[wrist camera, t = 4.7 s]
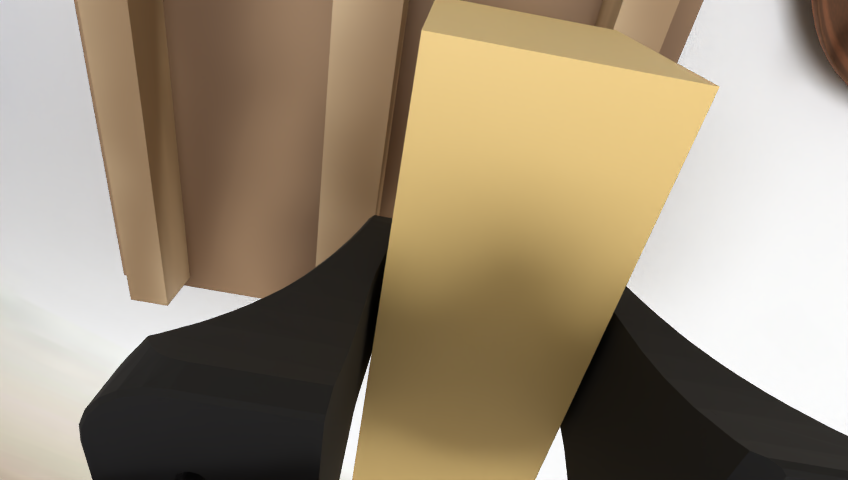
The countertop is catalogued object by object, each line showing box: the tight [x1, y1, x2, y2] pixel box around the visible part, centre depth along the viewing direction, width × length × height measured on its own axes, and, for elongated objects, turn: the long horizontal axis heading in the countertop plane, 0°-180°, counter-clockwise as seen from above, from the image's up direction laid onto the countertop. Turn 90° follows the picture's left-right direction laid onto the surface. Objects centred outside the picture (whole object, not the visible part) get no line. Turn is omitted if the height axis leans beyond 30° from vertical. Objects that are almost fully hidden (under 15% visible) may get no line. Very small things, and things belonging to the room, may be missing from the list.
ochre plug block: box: [352, 0, 719, 480], centre depth 12 cm, size 4×11×5 cm, turn 170°
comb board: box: [74, 0, 703, 306], centre depth 18 cm, size 20×17×3 cm
